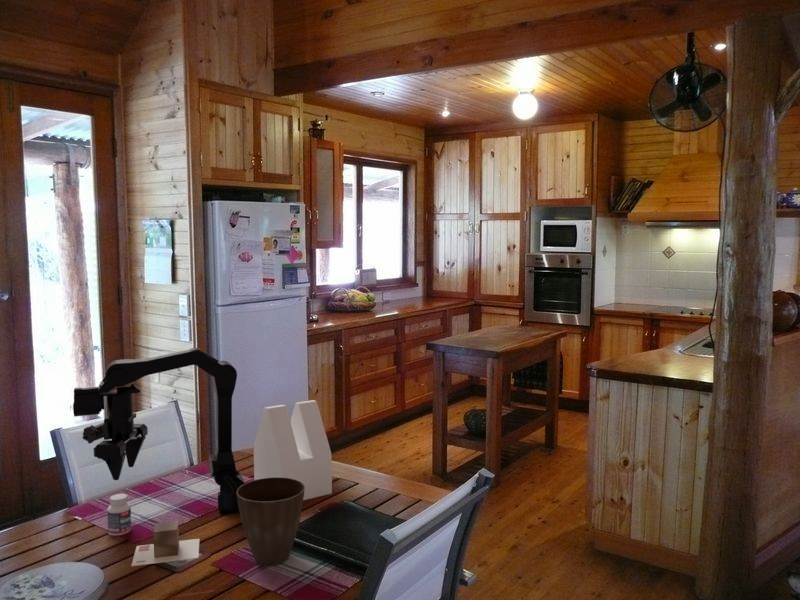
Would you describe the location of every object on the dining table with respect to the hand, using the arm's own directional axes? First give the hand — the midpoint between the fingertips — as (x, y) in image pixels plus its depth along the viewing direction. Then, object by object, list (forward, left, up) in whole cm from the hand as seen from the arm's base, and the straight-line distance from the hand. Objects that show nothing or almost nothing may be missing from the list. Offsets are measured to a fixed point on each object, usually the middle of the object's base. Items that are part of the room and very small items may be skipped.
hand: (123, 473), depth 161 cm
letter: (-11, +18, -14) cm, 25 cm away
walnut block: (-11, +18, -13) cm, 25 cm away
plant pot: (-34, +27, -14) cm, 45 cm away
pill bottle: (+1, +3, -14) cm, 14 cm away
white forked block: (-43, -14, -14) cm, 47 cm away
